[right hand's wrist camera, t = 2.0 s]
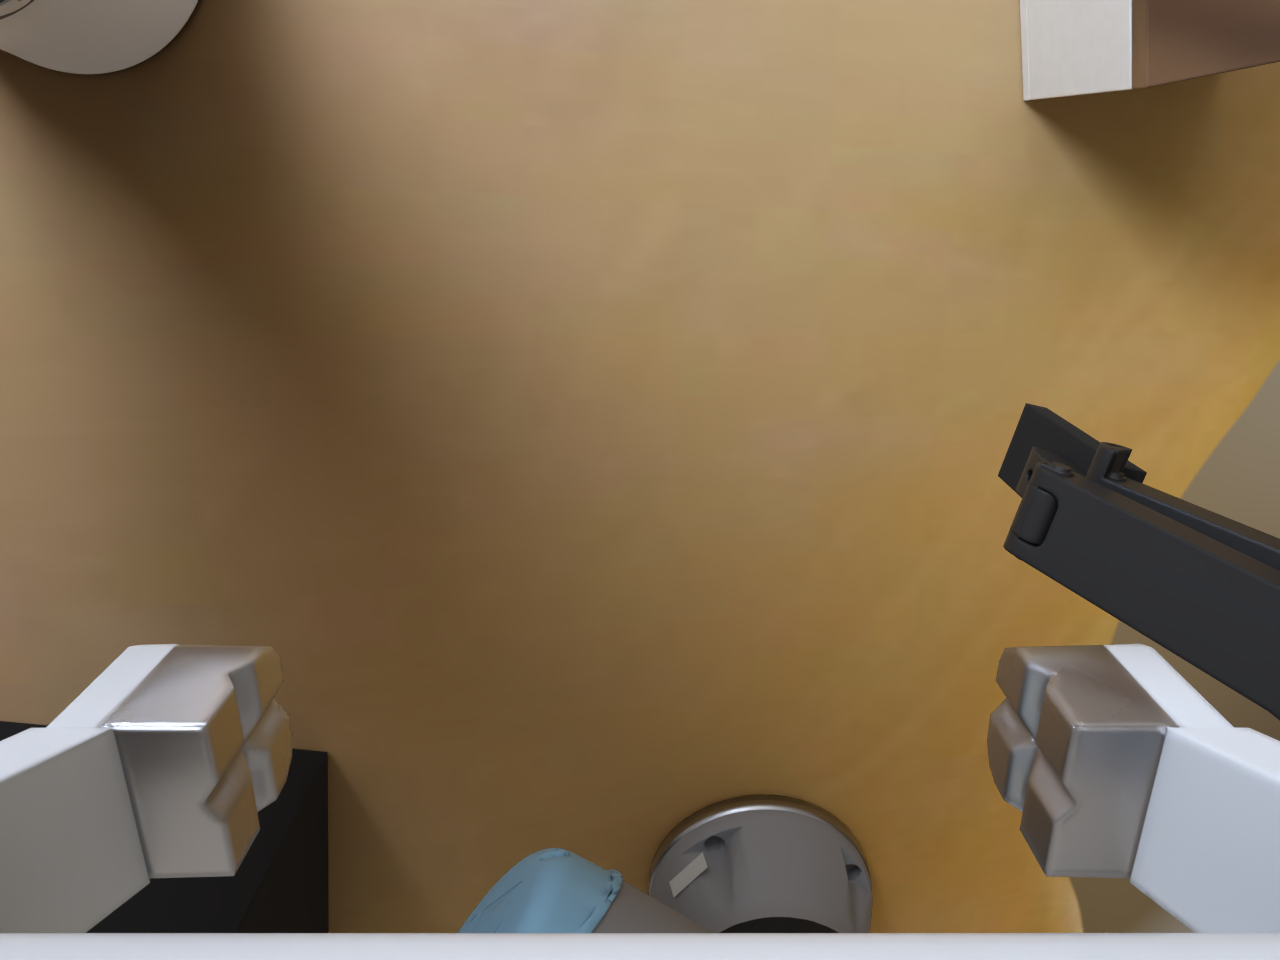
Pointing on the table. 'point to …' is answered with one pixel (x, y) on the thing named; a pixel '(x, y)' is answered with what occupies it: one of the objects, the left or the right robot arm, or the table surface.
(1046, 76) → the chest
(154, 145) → the table surface
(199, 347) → the table surface
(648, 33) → the table surface
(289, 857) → the cardboard box
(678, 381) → the table surface
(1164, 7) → the lid
